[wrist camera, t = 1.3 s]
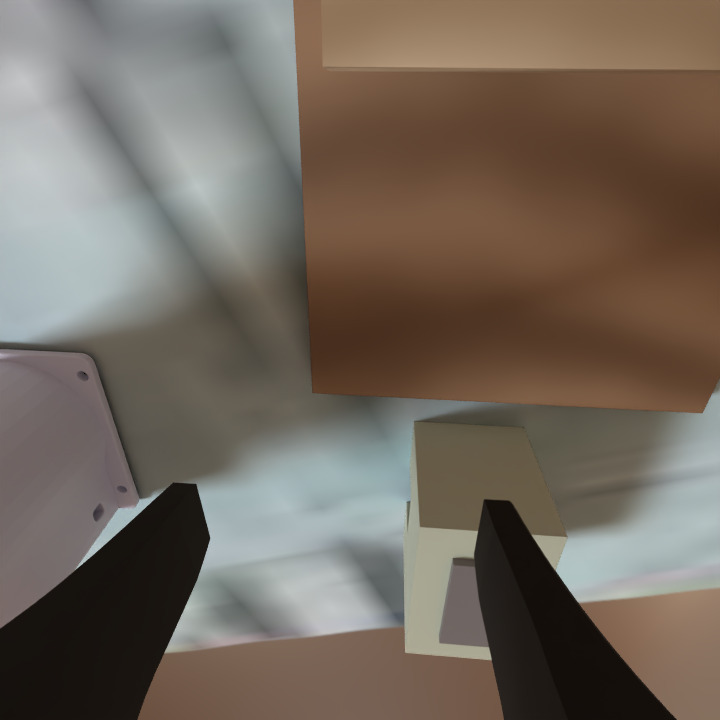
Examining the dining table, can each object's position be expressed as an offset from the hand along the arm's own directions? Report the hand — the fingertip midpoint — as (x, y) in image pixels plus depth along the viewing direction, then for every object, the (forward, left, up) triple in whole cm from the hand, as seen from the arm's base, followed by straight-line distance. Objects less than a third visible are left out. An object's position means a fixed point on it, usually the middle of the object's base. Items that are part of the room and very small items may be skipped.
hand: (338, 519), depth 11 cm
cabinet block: (-8, -5, -9) cm, 13 cm away
